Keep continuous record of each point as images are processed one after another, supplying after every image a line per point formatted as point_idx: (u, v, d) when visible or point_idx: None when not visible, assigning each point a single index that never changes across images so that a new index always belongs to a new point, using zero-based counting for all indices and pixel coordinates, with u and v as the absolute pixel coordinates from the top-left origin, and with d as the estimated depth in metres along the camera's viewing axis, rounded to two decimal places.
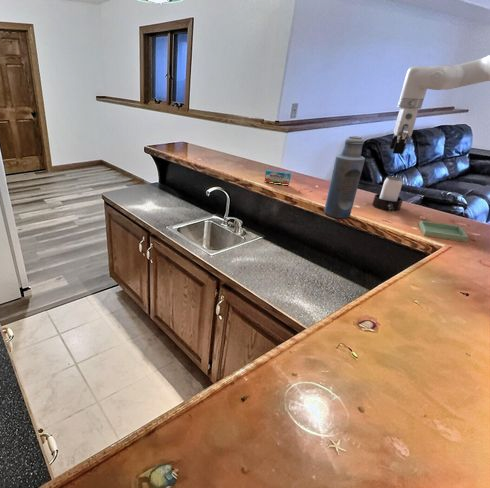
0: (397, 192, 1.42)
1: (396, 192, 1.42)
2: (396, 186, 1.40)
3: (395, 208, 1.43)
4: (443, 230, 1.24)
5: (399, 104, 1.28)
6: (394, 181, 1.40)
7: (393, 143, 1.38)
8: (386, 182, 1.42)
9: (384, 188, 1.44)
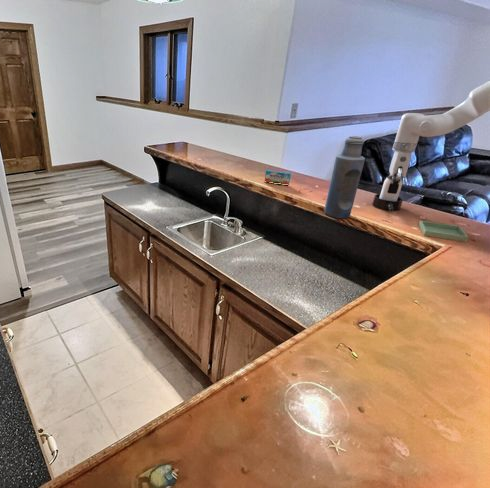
0: (397, 192, 1.42)
1: None
2: None
3: (395, 208, 1.43)
4: (443, 230, 1.24)
5: (394, 147, 1.37)
6: None
7: None
8: (386, 182, 1.42)
9: (384, 188, 1.44)
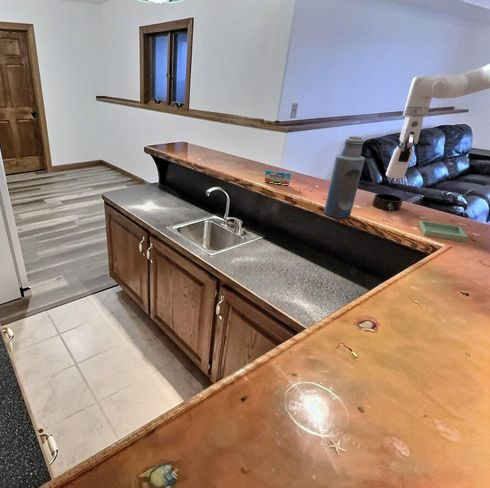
0: (407, 162, 1.36)
1: (406, 162, 1.36)
2: None
3: (395, 208, 1.43)
4: (443, 230, 1.24)
5: (405, 112, 1.31)
6: None
7: None
8: (396, 151, 1.37)
9: (394, 157, 1.38)
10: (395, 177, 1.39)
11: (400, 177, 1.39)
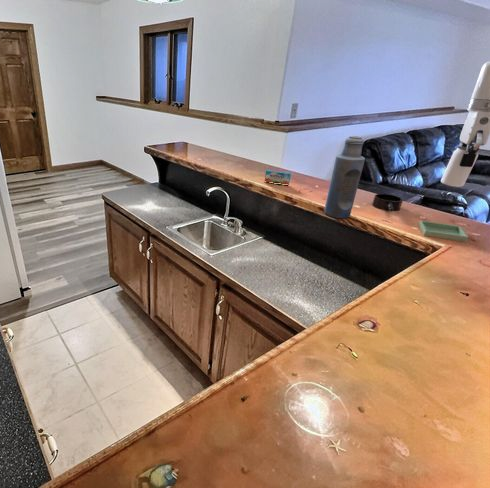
0: (470, 167, 1.12)
1: None
2: None
3: (395, 208, 1.43)
4: (443, 230, 1.24)
5: (471, 106, 1.07)
6: None
7: None
8: (457, 153, 1.13)
9: (453, 161, 1.14)
10: (454, 185, 1.15)
11: (460, 185, 1.15)
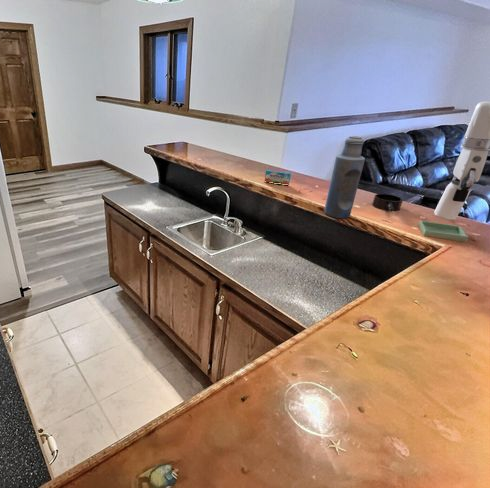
0: None
1: None
2: None
3: (395, 208, 1.43)
4: (443, 230, 1.24)
5: (464, 144, 1.10)
6: None
7: None
8: (450, 188, 1.16)
9: (446, 195, 1.17)
10: (447, 218, 1.18)
11: (453, 218, 1.18)
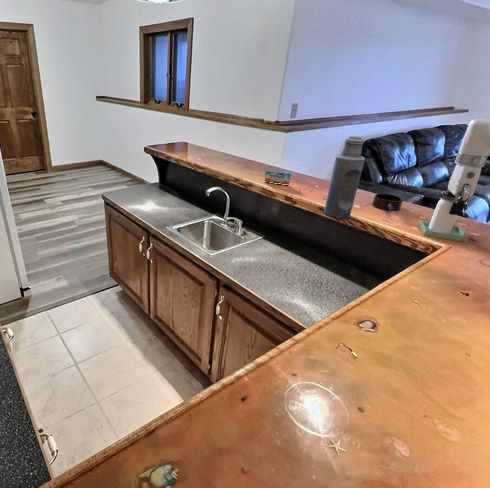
0: (455, 216, 1.18)
1: (454, 216, 1.18)
2: None
3: (395, 208, 1.43)
4: None
5: (458, 160, 1.12)
6: (452, 203, 1.16)
7: None
8: (441, 204, 1.19)
9: (438, 211, 1.20)
10: None
11: (447, 233, 1.21)
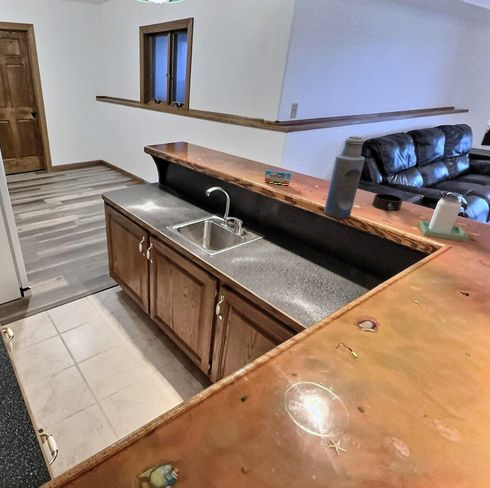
0: (455, 216, 1.18)
1: (454, 216, 1.18)
2: (454, 209, 1.17)
3: (395, 208, 1.43)
4: None
5: None
6: (452, 203, 1.16)
7: (486, 138, 1.13)
8: (441, 204, 1.19)
9: (438, 211, 1.20)
10: None
11: (447, 233, 1.21)
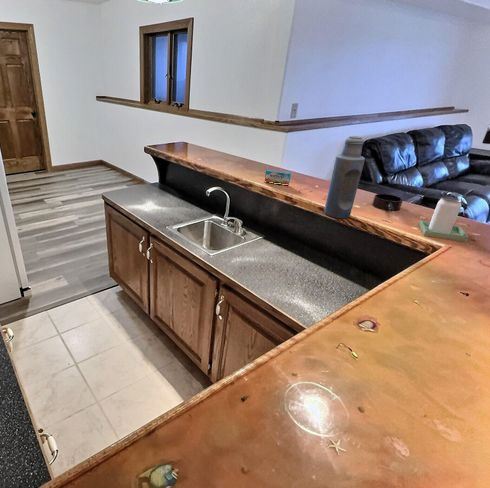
0: (455, 216, 1.18)
1: (454, 216, 1.18)
2: (454, 209, 1.17)
3: (395, 208, 1.43)
4: None
5: None
6: (452, 203, 1.16)
7: (488, 137, 1.13)
8: (441, 204, 1.19)
9: (438, 211, 1.20)
10: None
11: (447, 233, 1.21)
